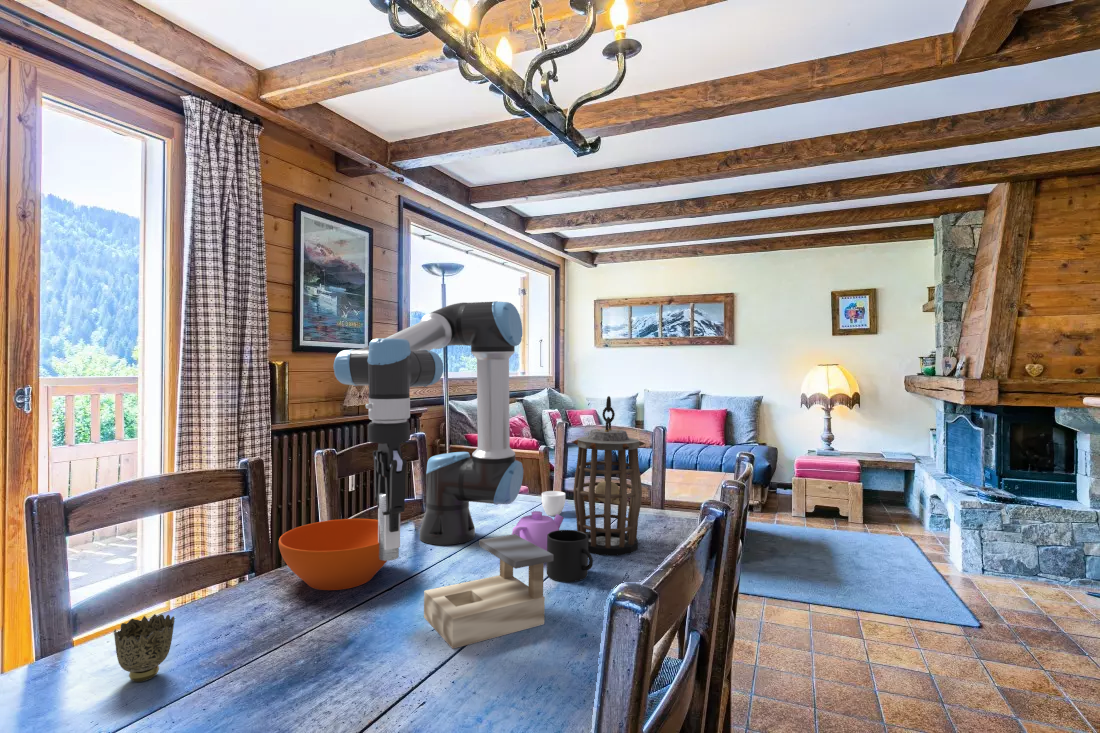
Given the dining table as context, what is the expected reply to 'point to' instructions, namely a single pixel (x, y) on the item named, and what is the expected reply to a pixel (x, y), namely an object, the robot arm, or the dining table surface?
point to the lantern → (608, 489)
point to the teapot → (537, 528)
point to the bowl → (333, 553)
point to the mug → (568, 555)
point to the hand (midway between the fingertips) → (388, 544)
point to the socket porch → (491, 596)
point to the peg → (389, 553)
